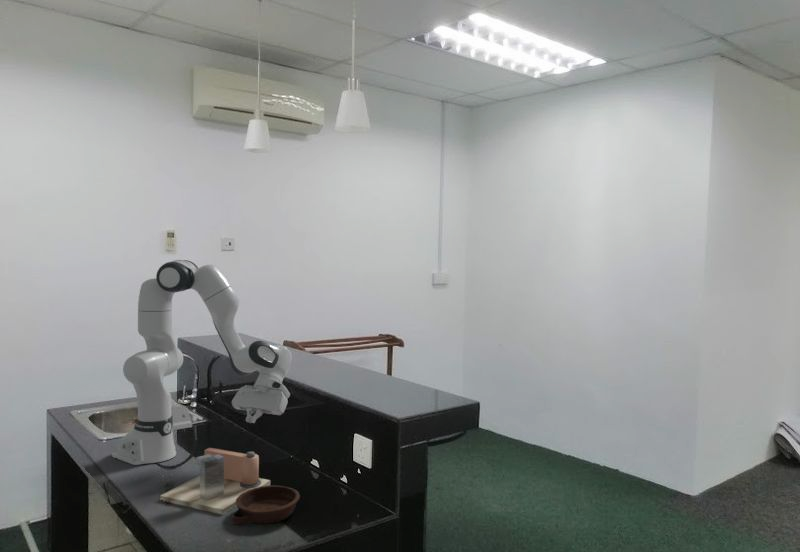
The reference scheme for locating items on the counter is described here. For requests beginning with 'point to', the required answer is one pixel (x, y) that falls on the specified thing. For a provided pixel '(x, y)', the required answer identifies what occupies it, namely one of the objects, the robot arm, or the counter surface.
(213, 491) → the block
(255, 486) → the base board
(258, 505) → the dish
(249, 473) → the link
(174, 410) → the hinge
